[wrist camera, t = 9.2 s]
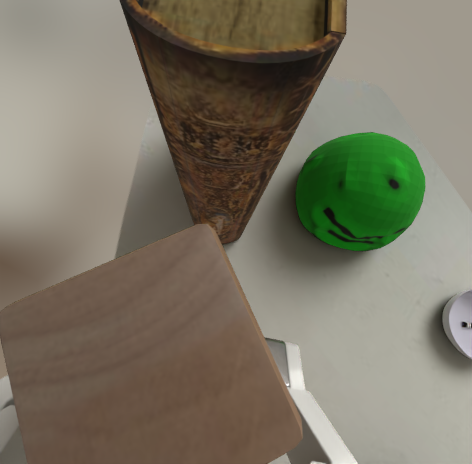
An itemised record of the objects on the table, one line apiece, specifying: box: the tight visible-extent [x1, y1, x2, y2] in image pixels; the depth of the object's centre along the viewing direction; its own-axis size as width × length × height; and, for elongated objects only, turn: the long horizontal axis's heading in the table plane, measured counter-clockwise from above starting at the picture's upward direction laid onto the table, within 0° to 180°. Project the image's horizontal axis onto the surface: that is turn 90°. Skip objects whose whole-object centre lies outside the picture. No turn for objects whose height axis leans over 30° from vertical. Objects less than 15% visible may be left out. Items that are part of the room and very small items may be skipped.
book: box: [120, 0, 347, 244], centre depth 20 cm, size 16×6×25 cm, turn 174°
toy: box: [296, 132, 425, 251], centre depth 28 cm, size 14×13×10 cm
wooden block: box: [0, 224, 303, 464], centre depth 10 cm, size 7×3×15 cm, turn 115°
